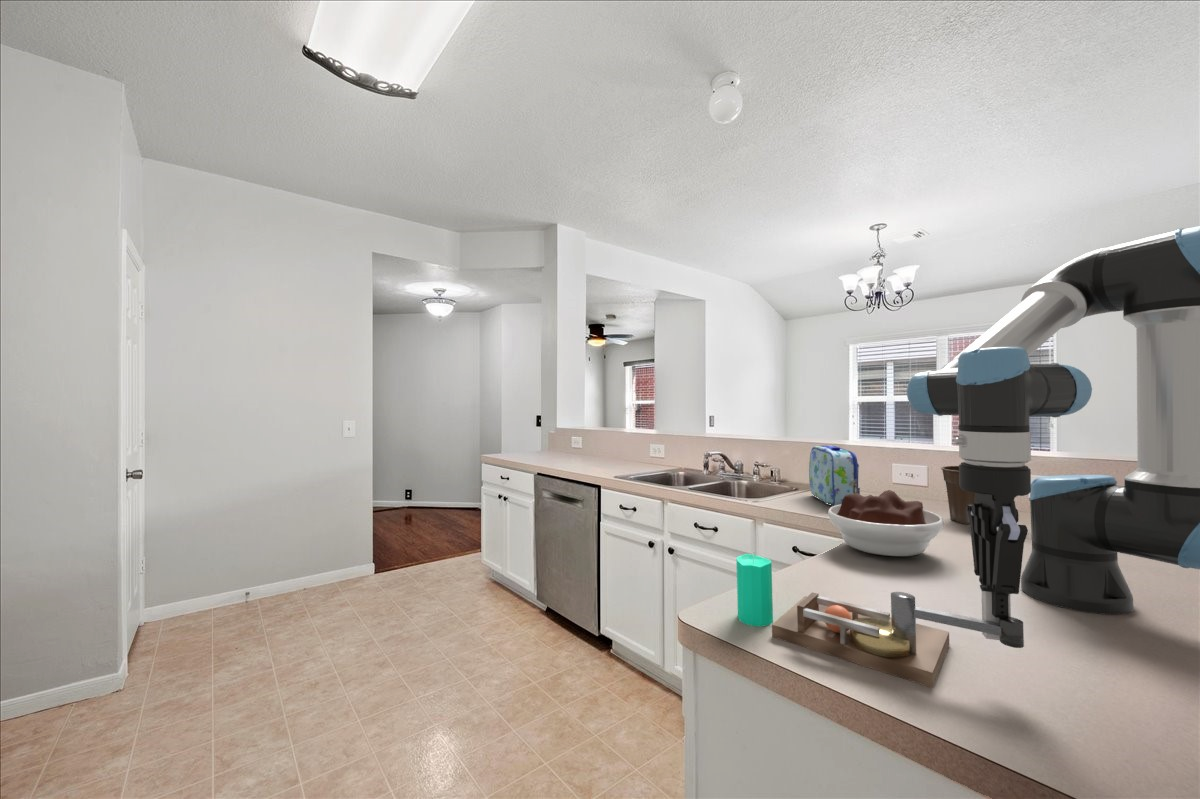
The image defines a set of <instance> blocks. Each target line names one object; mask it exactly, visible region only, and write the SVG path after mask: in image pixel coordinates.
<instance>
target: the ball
mask: <svg viewBox="0 0 1200 799" xmlns="http://www.w3.org/2000/svg"><path fill="white" fill-rule="evenodd" d="M825 613H827V614H830V615H834V616H838V617H842V618H845V619H849V620H852V618H851V615H850V613H849V612H848V611H847V610H846V609H845V608H844V607H842V606H839V605H832V606H830V607H828V608H827V609H826V610H825ZM826 625H827V626H828V628H829V629H831V630H832V631H834V632H837V633H840V626H836V625H833V624H829V623H826ZM848 630H849V629H847V628H846V631H848Z"/></svg>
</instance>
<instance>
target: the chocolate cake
mask: <svg viewBox="0 0 1200 799" xmlns="http://www.w3.org/2000/svg"><path fill="white" fill-rule="evenodd" d="M827 516H828V518H829V520H830V522H831V523H832V525H833V526H834V527H835V528H836V529H837V530H838V531H839V532H840V536H841V537H842V539H843V541H844V543H846V544H847V545H848V546H850V547H851V548H853V549H856V550H858V551H861V552H864V553H868V554H874V555H877V556H885V557H886V556H888V557H911V556H917V555H920V554H922V553H924V552H925V551H926V550H927V548H928V546H929V544H930V542H931V541H932V540H933V539H935V537H936V536H938V535H939V534H940V533H941V531H942V530H943V528H944V524H945V523H944V520H943V518H942V516H940V515H939V514H937V513H935V512H932V511H930V510H925V509H924V506H923V501H922V502H921V501H919V500H911V501H906V500H904V499H902V498H901V497H900V496H899V495H898V494H897V493H896V492H895V491H893V490H890V489H888V490H885V491H883V492H881V493H880V494H879V495H872V494H868V495H867V496H863V495H862V494H861V493H860V494H858V493H854V494H849V495H845V496H844V498H843V500H842V504H840V505H835V506H831V507H830V508H828V510H827Z"/></svg>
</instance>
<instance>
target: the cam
mask: <svg viewBox="0 0 1200 799" xmlns="http://www.w3.org/2000/svg"><path fill="white" fill-rule="evenodd" d="M890 612H891V613H890V617H891V621H889V622H887V621H883V620H879V619H875V618H858V619H855V620H853V621H857V622H861V623H864V624H868V625H872V626H876V627H880V635H879V636H878V637H876V636H873V635H869V634H865V633H862V632H858V631H854V630H851V629H850V639H851V641H852V643H853V644H854V645H856V646H857V647H859V648H860V649H862V650H864V651H867V652H869V653H872V654H876V655H880V656H885V657H904V656H908V655H910V654H915V653H916V652H917V651H916V624H917V622H916V621H917V620H916V619H919V620H924V621H928V622H934V623H937V624H938V623H939V624H942V625H947V626H952V627H957V628H962V629H966V630H971V631H975V632H981V633H982V632H985V633H989V634H994V635H999V636H1000V640H999V642H1000V643H1001V644H1003V645H1004V646H1007V647H1010V648H1015V649H1022V648H1024V647H1025V638H1024V633H1025V632H1024V622H1023V621H1022V620H1021V619H1018V618H1016V617H1014V616H1013V617H1012V616H1011V617H1008V619H1005V618H999V623H996V622H991V621H986V620H982V618H977V617H971V616H965V615H960V614H956V613H955V614H954V613H950V612H946V611H945V612H944V611H940V610H935V609H929V608H925V607H919V606H916V597H915V596H914V595H913V594H910V593H907V592H902V591H892V592H891V593H890Z"/></svg>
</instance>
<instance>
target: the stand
mask: <svg viewBox="0 0 1200 799" xmlns="http://www.w3.org/2000/svg"><path fill="white" fill-rule="evenodd" d="M832 605H839V606H842V607H844V608H845V609H846V610H847V611H848V612H849V613H850V615H851V618H852V620H849V619H845V618H842V617H838V616H834V615H830V614H827V613H825V610H826V609H827V608H828V607H830V606H832ZM858 618H875V619H879V620H883V621H887V622H889V621H891V613H890V612H886V611H882V610H879V609H875V608H871V607H866V606H863V605H862V606H861V605H859V604H854V603H849V602H846V601H841V600H838V599H833V598H830V597H825V596H820V595H819V593H817V592H813V591H812V592H811V593H809V594H808V595H807V596H806V595H805V596H803V597H802V598H801V599H800V600H799V601H797V602H796V603H795V604H794V605H793V606H791V607H790V609H788V610H787V611H786V612H784V614H782V615H781V616H780V617H779V618H777V619H776V620H775V621H773V622H772V623H771V637H772V638H775V639H778V640H781V641H784V642H788V643H790V644H791V643H792V644H794V645H797V646H800V647H804V648H806V649H809V650H813V651H816V652H819V653H822V654H826V655H829V656H831V657H834V658H838V659H841V660H845V661H846V662H850V663H854V664H857V665H859V666H862V667H866V668H870V669H873V670H876V671H879V672H882V673H884V674H885V673H886V674H888V675H892V676H895V677H898V678H901V679H903V680H907V681H911V682H913V683H917V684H920V685H924V686H926V687H930V688H931V689H932V688H934V687H935V683H936V681H937V678H938V676H939V673H940V671H941V668H942V666H943V663H944V660H945V657H946V656H947V652H948V649H949V647H950V631H948V630H944V629H940V628H937V627H931V626H928V625H923V624H919V623H916V651H917V652H916V653H915V654H910V655H908V656H904V657H885V656H880V655H876V654H872V653H869V652H867V651H864V650H862V649H860V648H859V647H857V646H856V645H854V644H853V643H852V641H851V639H850V629H851V630H854V631H858V632H862V633H865V634H869V635H873V636H876V637H878V636H879V635H880V627H876V626H872V625H868V624H864V623H861V622H857V621H853V620H855V619H858ZM826 623H829V624H833V625H836V626H840V633H837V632H834V631H832V630H831V629H829V628H828V626H827V625H826ZM846 628H847V629H849V630H848V631H846Z"/></svg>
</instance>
